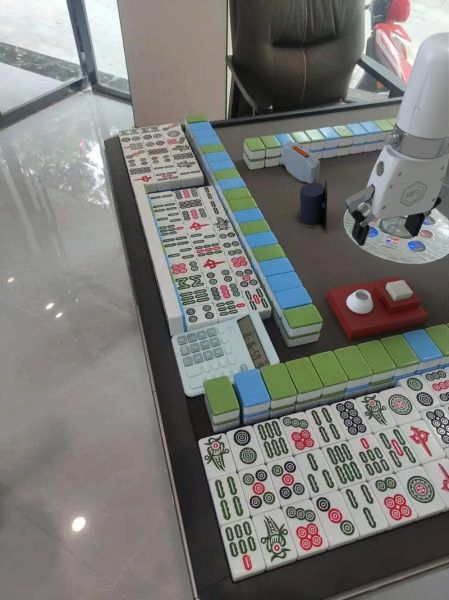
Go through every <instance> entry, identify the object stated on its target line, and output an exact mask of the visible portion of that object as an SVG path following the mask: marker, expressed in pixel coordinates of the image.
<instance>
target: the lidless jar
mask: <svg viewBox="0 0 449 600" xmlns="http://www.w3.org/2000/svg"><path fill="white" fill-rule="evenodd" d="M346 302H347V306H348V307H349V309H351V310H352V311H353V312H356V313H360V314H365V313H368V312H370V311H371V310H372V307H373V302H372V298H371V295H370V293H369V292H367V291H365V290H357V291H356V292H354V293H353V294H351V295H350V296H348V298H347V301H346Z"/></svg>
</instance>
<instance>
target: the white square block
mask: <svg viewBox="0 0 449 600" xmlns="http://www.w3.org/2000/svg"><path fill="white" fill-rule="evenodd" d="M385 290H386V291H387V293H388V294H389V295H390V297H391V298H392V300H393V301H394V302H395V301H400V300H405V299H410V298H411V296H412V294H413V292H412V290H411V289H410V288H409V286H408V285H407V284H406V282H405V281H404V280H400V281H395V282H390V283H387V285H386V288H385Z"/></svg>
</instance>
